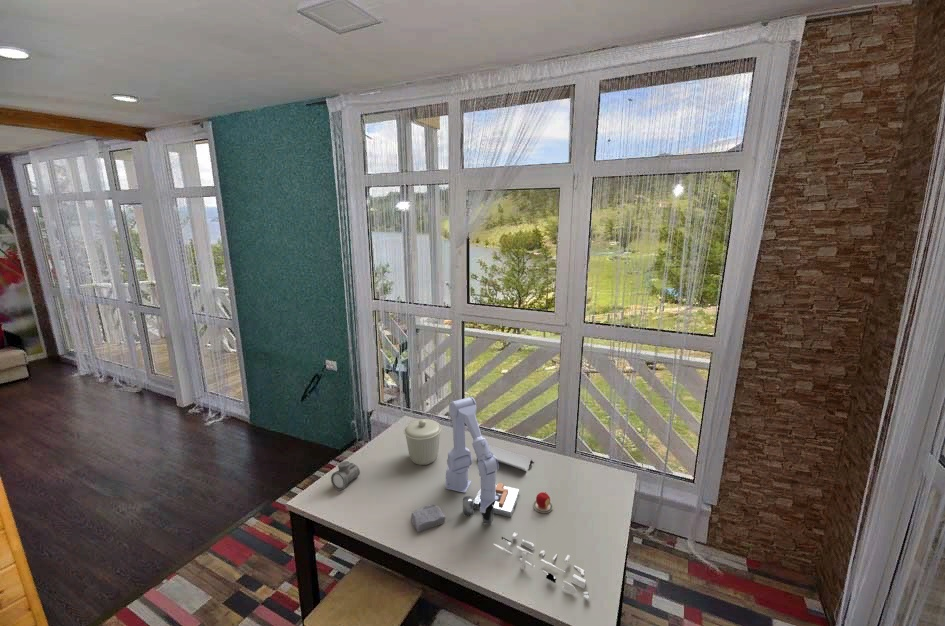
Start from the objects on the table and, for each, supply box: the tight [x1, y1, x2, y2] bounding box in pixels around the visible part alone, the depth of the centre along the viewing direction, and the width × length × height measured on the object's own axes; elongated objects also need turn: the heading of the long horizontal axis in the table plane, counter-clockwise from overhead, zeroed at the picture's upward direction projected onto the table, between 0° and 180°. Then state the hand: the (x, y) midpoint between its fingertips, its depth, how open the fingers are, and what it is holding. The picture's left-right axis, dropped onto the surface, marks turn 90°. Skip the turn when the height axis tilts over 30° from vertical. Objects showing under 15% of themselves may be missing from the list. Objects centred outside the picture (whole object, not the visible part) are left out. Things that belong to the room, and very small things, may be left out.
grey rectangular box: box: [482, 502, 494, 526], centre depth 159 cm, size 3×3×8 cm
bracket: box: [496, 482, 508, 506], centre depth 171 cm, size 8×12×1 cm, turn 161°
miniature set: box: [493, 530, 590, 602], centre depth 141 cm, size 6×35×12 cm
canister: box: [403, 418, 442, 466], centre depth 198 cm, size 18×18×21 cm
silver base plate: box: [474, 483, 520, 518], centre depth 171 cm, size 16×14×2 cm
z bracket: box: [488, 443, 535, 472], centre depth 198 cm, size 12×25×6 cm
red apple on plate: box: [532, 491, 554, 514], centre depth 167 cm, size 8×8×6 cm
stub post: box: [462, 495, 475, 517], centre depth 164 cm, size 4×4×6 cm
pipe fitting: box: [330, 460, 361, 491], centre depth 183 cm, size 12×8×10 cm
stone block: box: [411, 504, 446, 533], centre depth 161 cm, size 12×5×10 cm
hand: (488, 515), depth 160 cm, fingers closed on grey rectangular box, 3 cm apart
